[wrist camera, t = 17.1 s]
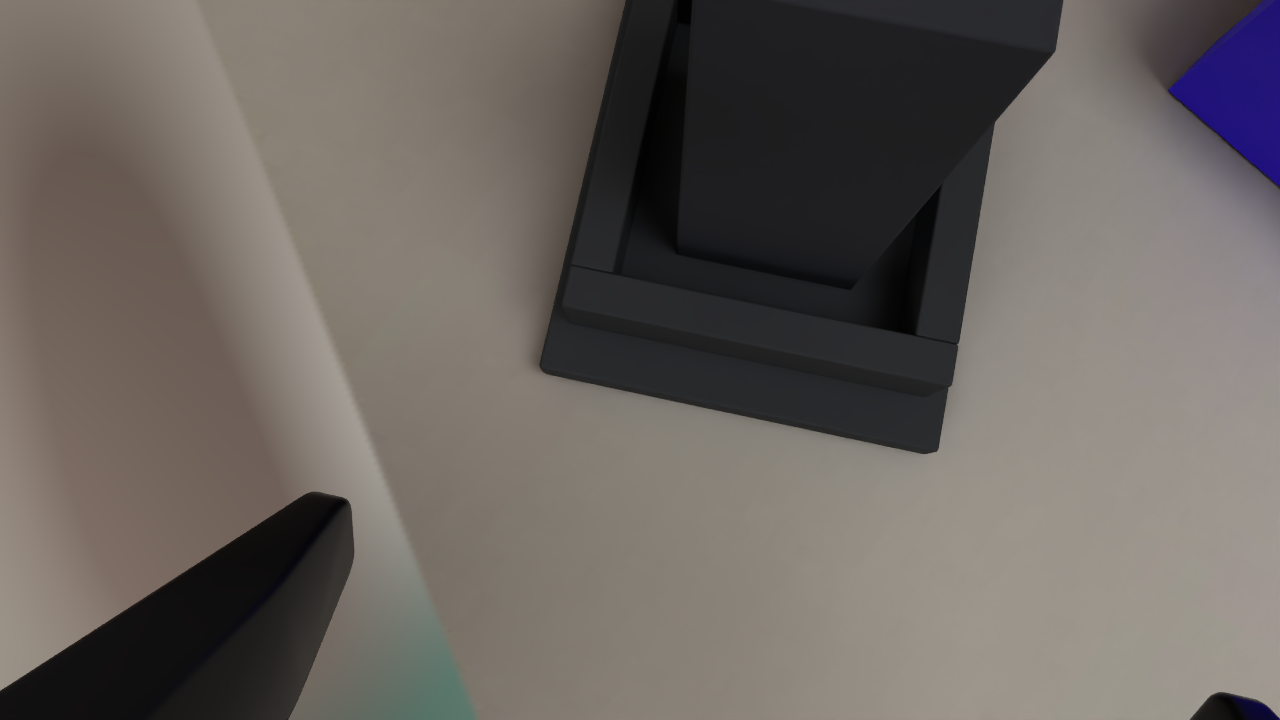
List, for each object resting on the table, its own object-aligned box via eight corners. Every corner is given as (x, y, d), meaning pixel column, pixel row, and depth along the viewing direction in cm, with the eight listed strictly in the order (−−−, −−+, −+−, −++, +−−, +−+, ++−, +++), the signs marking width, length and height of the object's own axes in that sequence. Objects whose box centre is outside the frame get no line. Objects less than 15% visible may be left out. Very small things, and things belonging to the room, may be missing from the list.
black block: (851, 291, 23) (1057, 52, 11) (675, 254, 23) (692, -16, 11) (885, 106, 24) (1112, -300, 12) (714, 74, 24) (769, -356, 12)
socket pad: (926, 455, 23) (966, 446, 20) (543, 373, 24) (526, 353, 21) (997, 25, 25) (1043, -40, 22) (641, -42, 26) (638, -114, 23)
